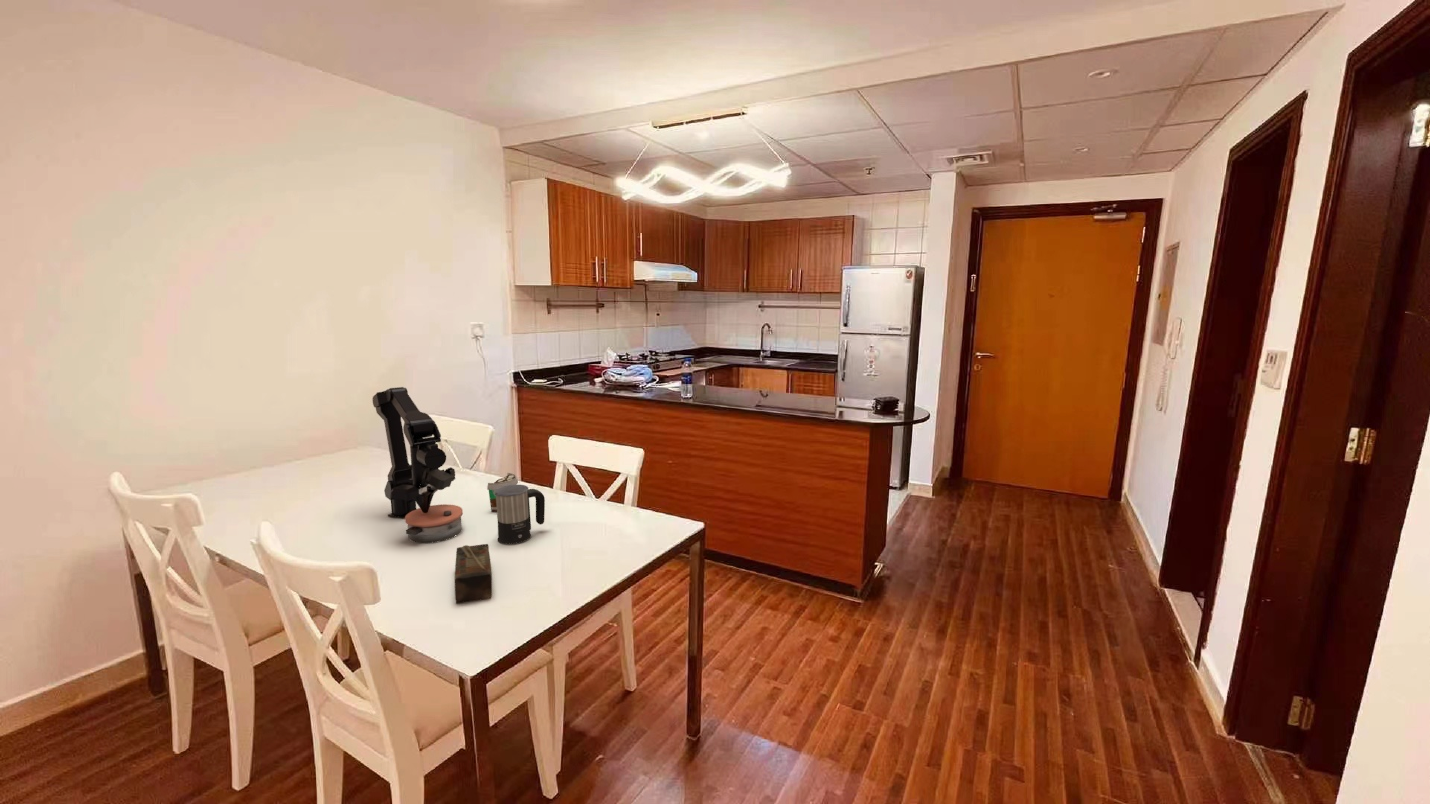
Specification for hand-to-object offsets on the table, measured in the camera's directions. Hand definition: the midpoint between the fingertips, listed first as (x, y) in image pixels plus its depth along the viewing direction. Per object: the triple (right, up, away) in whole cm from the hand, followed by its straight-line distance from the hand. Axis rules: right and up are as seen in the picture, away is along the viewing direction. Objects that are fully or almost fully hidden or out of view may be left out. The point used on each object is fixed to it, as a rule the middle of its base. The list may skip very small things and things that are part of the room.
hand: (425, 512), depth 165 cm
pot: (+3, -6, 0) cm, 7 cm away
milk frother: (+25, -7, +1) cm, 26 cm away
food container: (+16, -3, +22) cm, 27 cm away
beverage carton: (+26, -12, -28) cm, 40 cm away
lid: (+3, -1, -1) cm, 3 cm away
